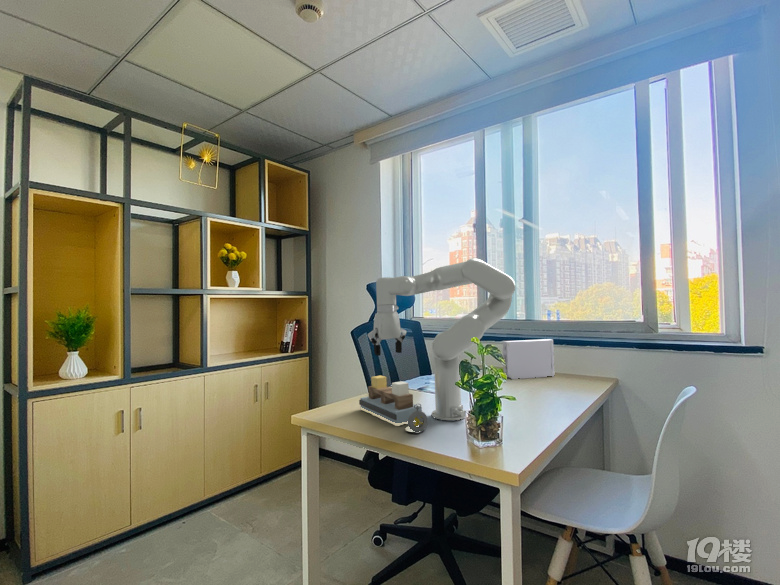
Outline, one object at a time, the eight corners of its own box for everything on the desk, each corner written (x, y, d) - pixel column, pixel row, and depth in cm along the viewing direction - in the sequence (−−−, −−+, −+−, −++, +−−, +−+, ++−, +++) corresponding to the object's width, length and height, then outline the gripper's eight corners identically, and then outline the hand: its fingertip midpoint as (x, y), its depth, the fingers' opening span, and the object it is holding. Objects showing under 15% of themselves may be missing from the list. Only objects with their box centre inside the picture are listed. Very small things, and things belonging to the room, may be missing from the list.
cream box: (408, 394, 140) (408, 383, 140) (398, 396, 137) (398, 384, 138) (401, 391, 144) (401, 381, 144) (392, 393, 141) (391, 382, 141)
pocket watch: (412, 426, 133) (411, 397, 133) (432, 431, 128) (431, 400, 128) (397, 433, 127) (396, 402, 127) (418, 438, 121) (417, 406, 122)
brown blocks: (413, 406, 139) (412, 394, 139) (399, 409, 136) (399, 397, 136) (381, 395, 158) (380, 384, 158) (368, 397, 154) (368, 386, 154)
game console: (556, 376, 208) (554, 339, 208) (508, 379, 204) (507, 342, 204) (550, 374, 213) (548, 338, 214) (503, 377, 210) (502, 341, 210)
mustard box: (386, 387, 152) (386, 377, 153) (377, 388, 150) (376, 378, 150) (380, 385, 156) (380, 375, 156) (371, 386, 154) (371, 376, 154)
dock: (422, 420, 139) (421, 406, 139) (395, 427, 132) (395, 412, 132) (383, 405, 160) (383, 393, 161) (359, 410, 154) (359, 398, 154)
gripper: (399, 308, 156) (401, 350, 155) (362, 310, 146) (363, 355, 146) (410, 308, 150) (412, 352, 149) (372, 310, 140) (374, 357, 140)
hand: (388, 353), depth 147 cm, fingers open, 9 cm apart
